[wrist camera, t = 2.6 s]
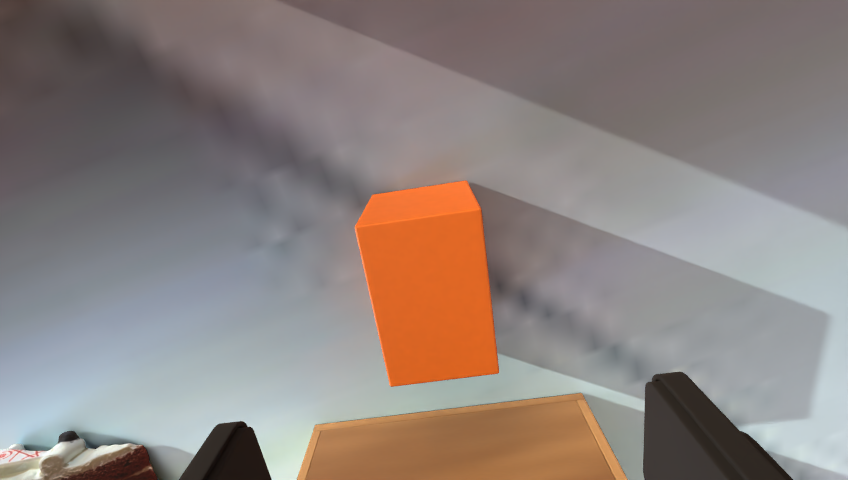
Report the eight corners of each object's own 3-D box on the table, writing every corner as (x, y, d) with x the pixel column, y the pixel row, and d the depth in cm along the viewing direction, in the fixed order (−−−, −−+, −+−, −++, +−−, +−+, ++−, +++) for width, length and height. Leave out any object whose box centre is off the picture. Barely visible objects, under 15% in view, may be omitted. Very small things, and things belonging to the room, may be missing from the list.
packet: (372, 194, 19) (354, 226, 14) (467, 180, 18) (481, 208, 14) (397, 322, 21) (389, 387, 16) (482, 311, 21) (499, 374, 16)
